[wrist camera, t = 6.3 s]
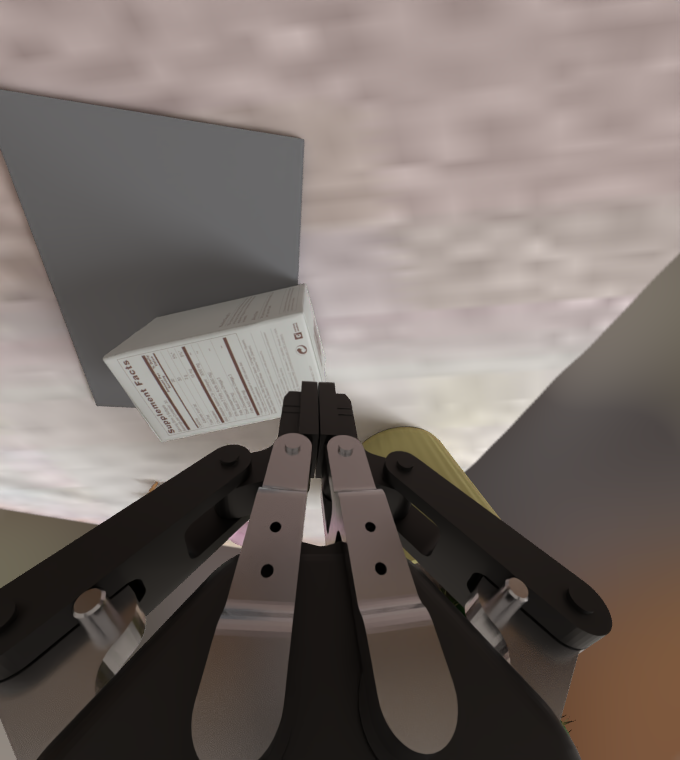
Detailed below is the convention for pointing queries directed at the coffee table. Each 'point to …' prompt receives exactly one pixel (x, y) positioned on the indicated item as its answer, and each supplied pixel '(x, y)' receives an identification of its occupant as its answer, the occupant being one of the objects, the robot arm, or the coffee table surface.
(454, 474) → the potted cactus
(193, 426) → the supplement box
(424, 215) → the coffee table surface
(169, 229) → the mat
